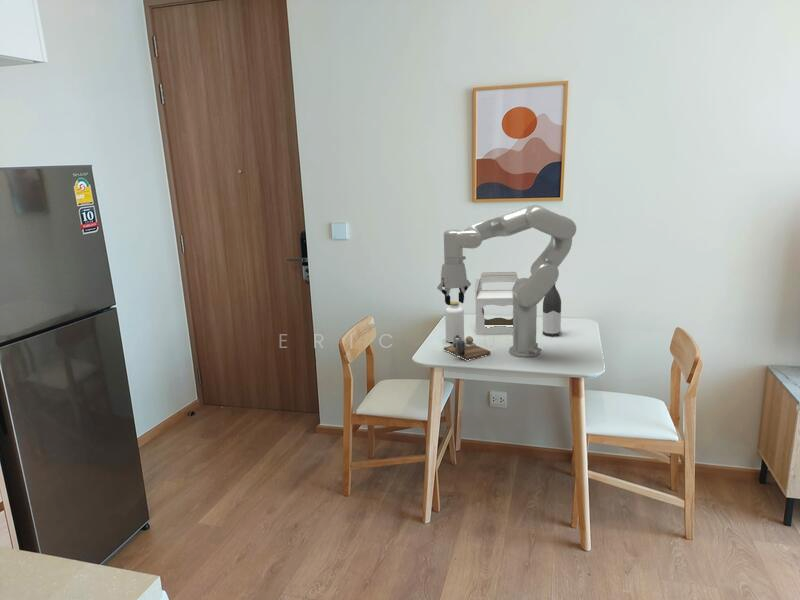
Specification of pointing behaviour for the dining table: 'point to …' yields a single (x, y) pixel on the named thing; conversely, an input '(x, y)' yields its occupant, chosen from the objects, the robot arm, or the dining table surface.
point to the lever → (459, 345)
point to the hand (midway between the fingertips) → (454, 303)
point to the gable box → (493, 302)
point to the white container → (454, 321)
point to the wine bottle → (552, 313)
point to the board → (469, 349)
